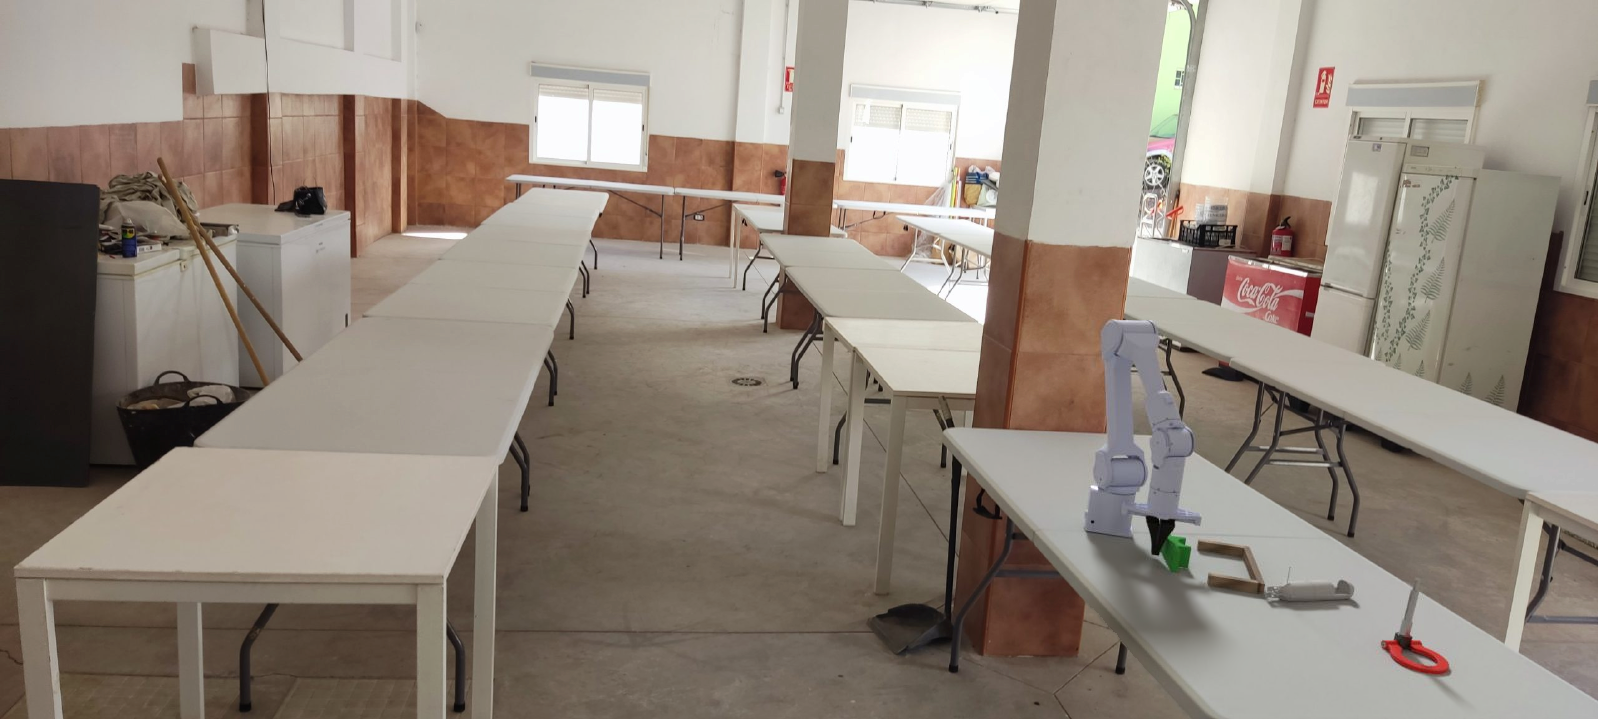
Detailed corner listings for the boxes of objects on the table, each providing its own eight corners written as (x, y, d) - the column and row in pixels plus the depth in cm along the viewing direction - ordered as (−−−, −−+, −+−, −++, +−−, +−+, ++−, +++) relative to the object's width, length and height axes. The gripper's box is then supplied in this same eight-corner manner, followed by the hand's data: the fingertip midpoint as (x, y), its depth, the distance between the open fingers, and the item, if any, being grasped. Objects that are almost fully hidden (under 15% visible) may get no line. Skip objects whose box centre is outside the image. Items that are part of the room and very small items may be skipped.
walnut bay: (1207, 585, 197) (1209, 575, 197) (1196, 548, 215) (1198, 538, 215) (1263, 594, 195) (1265, 584, 195) (1247, 555, 213) (1249, 546, 213)
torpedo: (1340, 592, 199) (1346, 559, 198) (1358, 603, 195) (1365, 570, 194) (1256, 595, 195) (1262, 562, 194) (1273, 607, 191) (1279, 573, 189)
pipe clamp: (1191, 575, 202) (1195, 553, 201) (1171, 573, 202) (1174, 551, 201) (1178, 552, 213) (1182, 531, 212) (1159, 550, 213) (1162, 529, 212)
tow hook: (1459, 676, 170) (1420, 646, 179) (1479, 604, 167) (1437, 576, 176) (1411, 677, 169) (1374, 646, 178) (1430, 604, 166) (1391, 576, 174)
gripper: (1127, 488, 203) (1117, 554, 206) (1207, 500, 200) (1196, 567, 203) (1125, 477, 210) (1116, 541, 213) (1203, 488, 207) (1192, 553, 209)
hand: (1155, 553), depth 208 cm, fingers closed
